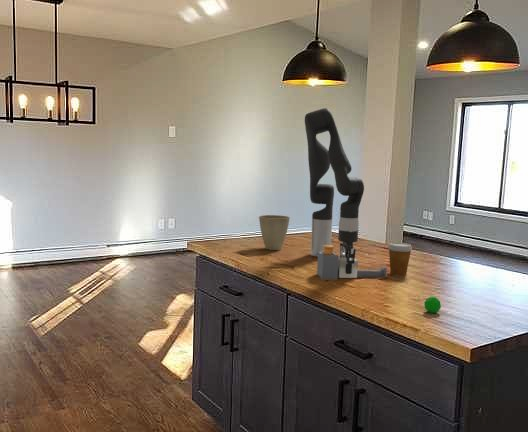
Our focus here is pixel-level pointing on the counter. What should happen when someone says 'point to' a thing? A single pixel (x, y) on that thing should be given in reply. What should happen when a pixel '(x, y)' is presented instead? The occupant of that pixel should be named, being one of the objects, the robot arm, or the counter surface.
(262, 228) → the plant pot
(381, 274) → the rail
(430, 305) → the polyhedron
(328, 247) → the plunger
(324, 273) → the grey hollow block
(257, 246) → the counter surface
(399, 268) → the disposable coffee cup
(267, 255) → the counter surface
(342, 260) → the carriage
